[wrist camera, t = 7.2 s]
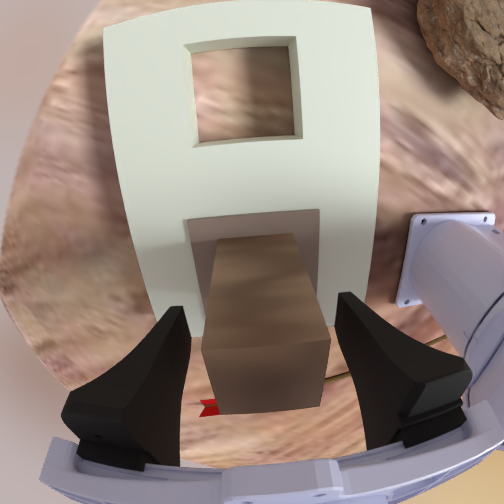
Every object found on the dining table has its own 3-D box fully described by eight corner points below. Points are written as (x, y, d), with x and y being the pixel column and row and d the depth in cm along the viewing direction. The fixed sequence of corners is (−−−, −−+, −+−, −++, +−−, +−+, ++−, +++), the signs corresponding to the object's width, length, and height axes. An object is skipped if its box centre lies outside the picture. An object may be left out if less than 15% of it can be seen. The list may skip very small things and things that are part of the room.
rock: (362, -29, 10) (395, -58, 6) (454, -41, 8) (490, -55, 3) (452, 136, 16) (499, 150, 11) (520, 95, 13) (561, 103, 9)
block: (292, 232, 16) (331, 338, 8) (292, 294, 17) (319, 406, 10) (217, 239, 16) (200, 349, 8) (226, 299, 17) (220, 414, 10)
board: (354, 18, 12) (372, 6, 10) (350, 300, 21) (362, 324, 19) (120, 37, 12) (100, 27, 10) (169, 315, 21) (161, 340, 19)
